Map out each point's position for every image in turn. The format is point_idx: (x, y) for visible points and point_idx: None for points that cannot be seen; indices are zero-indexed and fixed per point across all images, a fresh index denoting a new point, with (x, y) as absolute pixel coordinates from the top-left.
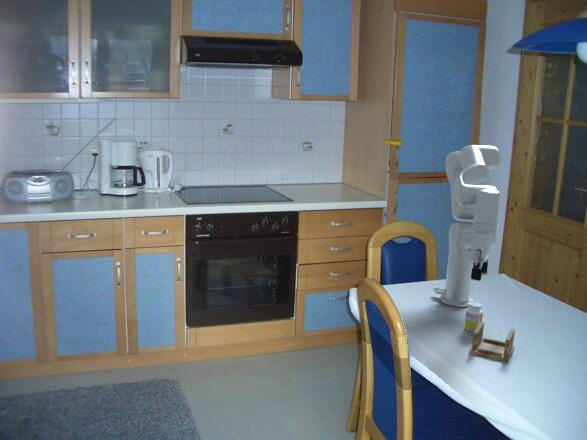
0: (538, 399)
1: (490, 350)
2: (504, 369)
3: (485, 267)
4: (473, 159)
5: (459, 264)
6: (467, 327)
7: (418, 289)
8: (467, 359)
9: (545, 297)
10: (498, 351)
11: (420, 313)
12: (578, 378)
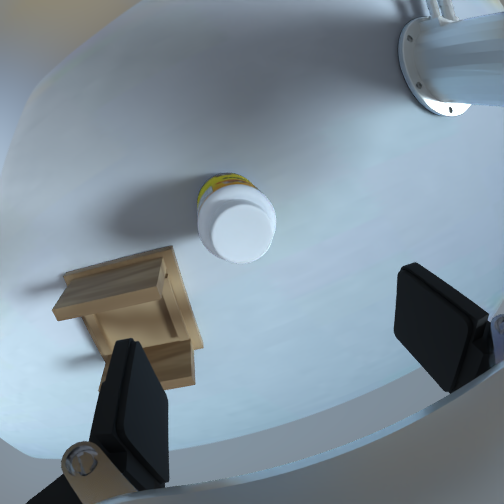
0: (42, 423)
1: (95, 329)
2: (72, 364)
3: (422, 356)
4: None
5: None
6: (198, 198)
7: None
8: (36, 285)
9: None
10: (128, 334)
11: None
12: (170, 447)
